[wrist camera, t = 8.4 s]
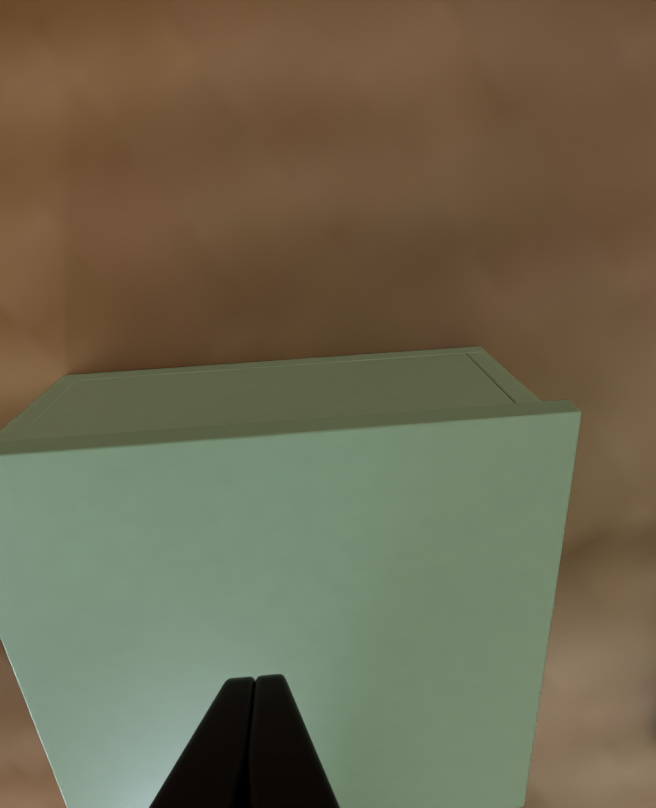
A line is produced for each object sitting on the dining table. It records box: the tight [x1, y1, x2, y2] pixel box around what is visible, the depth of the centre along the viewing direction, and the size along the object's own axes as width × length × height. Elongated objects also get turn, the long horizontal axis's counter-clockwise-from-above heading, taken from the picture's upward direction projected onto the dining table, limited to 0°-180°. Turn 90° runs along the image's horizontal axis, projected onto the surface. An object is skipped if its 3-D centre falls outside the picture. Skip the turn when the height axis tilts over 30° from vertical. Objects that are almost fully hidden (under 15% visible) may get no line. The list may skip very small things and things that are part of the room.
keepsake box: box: [0, 346, 541, 441], centre depth 19 cm, size 13×14×6 cm
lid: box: [0, 400, 582, 808], centre depth 16 cm, size 14×14×1 cm
